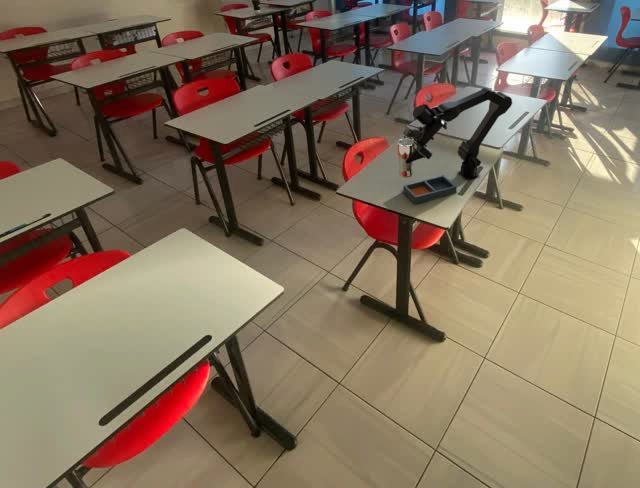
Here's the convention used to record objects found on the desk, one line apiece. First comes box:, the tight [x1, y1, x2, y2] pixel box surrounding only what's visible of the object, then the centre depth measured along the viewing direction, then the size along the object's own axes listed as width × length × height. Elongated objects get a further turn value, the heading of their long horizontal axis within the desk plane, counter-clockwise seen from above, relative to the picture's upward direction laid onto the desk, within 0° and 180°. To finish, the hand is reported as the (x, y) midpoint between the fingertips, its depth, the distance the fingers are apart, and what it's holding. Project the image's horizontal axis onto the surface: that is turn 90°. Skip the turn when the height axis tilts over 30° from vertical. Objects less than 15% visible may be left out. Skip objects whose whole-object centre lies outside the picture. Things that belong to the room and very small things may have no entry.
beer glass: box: [396, 138, 416, 179], centre depth 170 cm, size 7×7×15 cm
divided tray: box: [402, 174, 457, 205], centre depth 172 cm, size 19×10×3 cm, turn 115°
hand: (403, 158), depth 169 cm, fingers closed on beer glass, 7 cm apart
